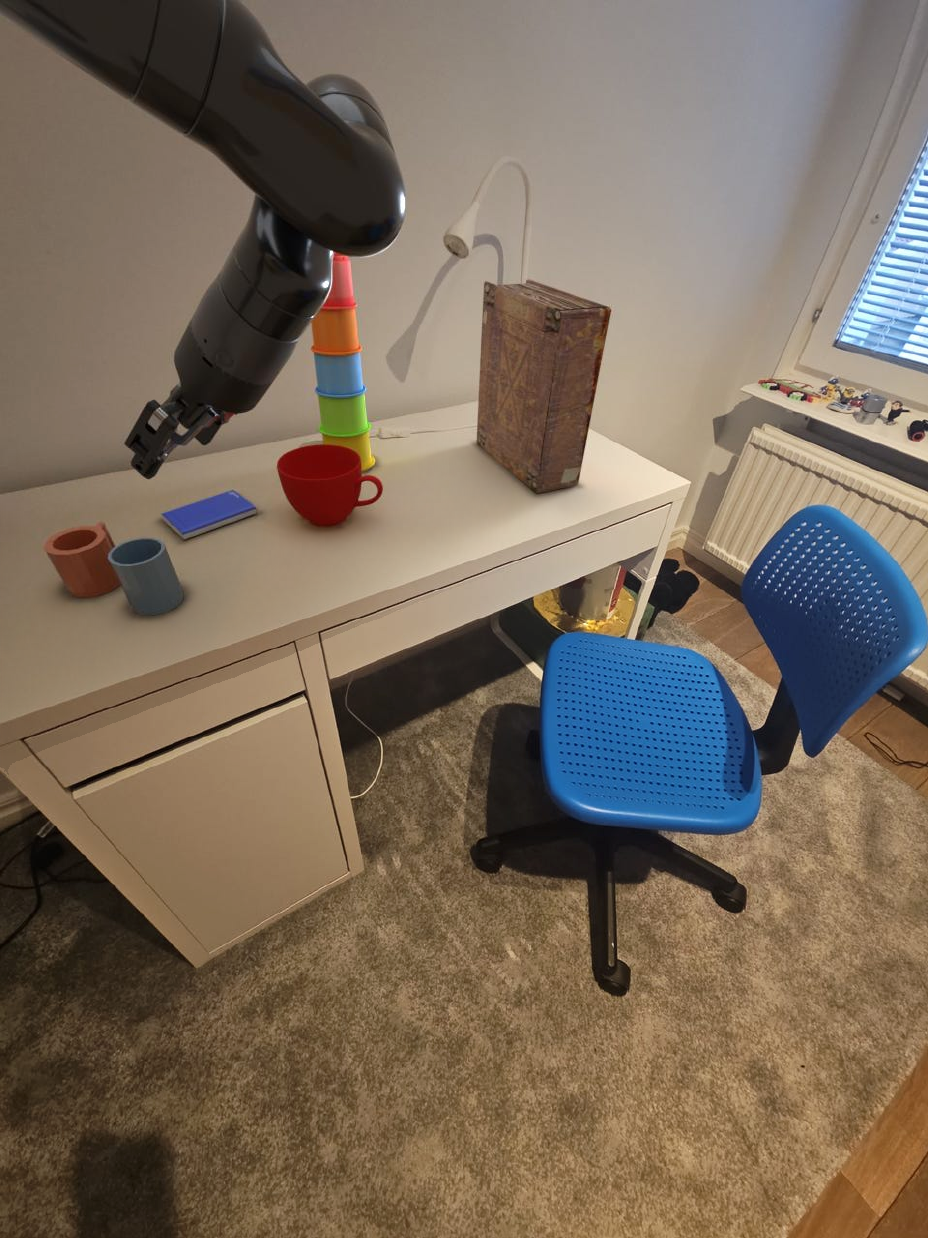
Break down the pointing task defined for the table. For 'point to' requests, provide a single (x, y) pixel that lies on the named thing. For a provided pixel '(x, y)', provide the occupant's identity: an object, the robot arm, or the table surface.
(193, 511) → the hard drive
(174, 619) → the table surface
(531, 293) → the book
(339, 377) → the stacking cups
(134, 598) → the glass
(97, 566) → the mug
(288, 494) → the ceramic cup
